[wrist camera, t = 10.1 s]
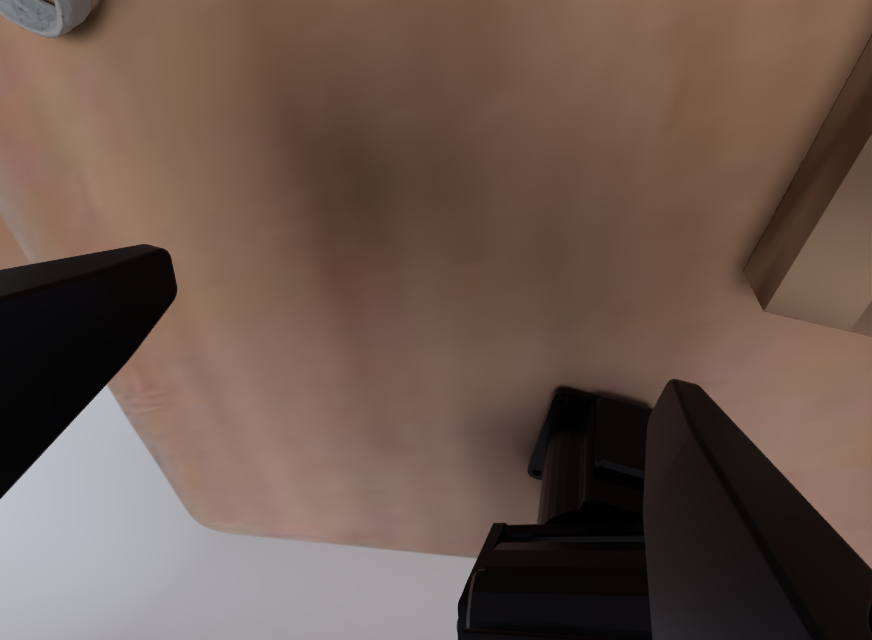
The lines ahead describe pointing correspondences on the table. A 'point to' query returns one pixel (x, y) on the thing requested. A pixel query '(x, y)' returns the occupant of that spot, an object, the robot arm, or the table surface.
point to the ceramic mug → (46, 15)
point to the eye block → (825, 222)
